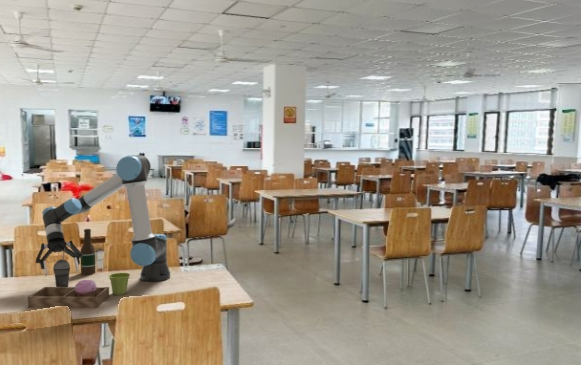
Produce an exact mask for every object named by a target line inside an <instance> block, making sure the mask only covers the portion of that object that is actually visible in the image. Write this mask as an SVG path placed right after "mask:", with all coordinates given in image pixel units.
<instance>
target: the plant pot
mask: <svg viewBox="0 0 581 365" xmlns="http://www.w3.org/2000/svg"><path fill="white" fill-rule="evenodd" d="M130 277H131V274H130V273H128V272H116V273H111V274H109V275H108V278H109V280H110V285H111V290H112V294H113V295H116V296H121V295H124V294H127V292H128V291H127V290H128V285H129V284H128V283H129V278H130Z"/></svg>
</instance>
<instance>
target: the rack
mask: <svg viewBox="0 0 581 365" xmlns="http://www.w3.org/2000/svg"><path fill="white" fill-rule="evenodd" d="M96 287H97V289H96V291H95V295H94V297H78V296H77V292H75V286H68V287H56V286H44V287H42V288H41V289H39V290H37V291H36V292H34V293H32V294H31V295H30V296H28V297H27V307H28V308H30V309H31V308H37V309H38V308H40V309H41V308H43V309H44V308H46V307H55V306H68V307H70V309H71V308H73V309H75V308H76V309H78V308H79V309H81V308H82V309H86V308H87V309H91V308H93V309H94V308H95V309H97V308H99V307H100V306H101V305H102V304H103V303H104V302H105V301H107V300H108V299H109V297H110V287H108V286H106V287H105V286H96Z"/></svg>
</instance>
